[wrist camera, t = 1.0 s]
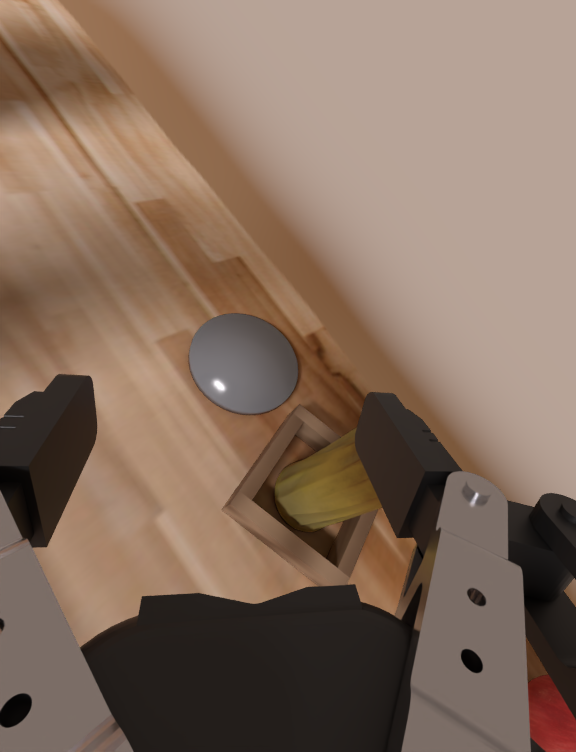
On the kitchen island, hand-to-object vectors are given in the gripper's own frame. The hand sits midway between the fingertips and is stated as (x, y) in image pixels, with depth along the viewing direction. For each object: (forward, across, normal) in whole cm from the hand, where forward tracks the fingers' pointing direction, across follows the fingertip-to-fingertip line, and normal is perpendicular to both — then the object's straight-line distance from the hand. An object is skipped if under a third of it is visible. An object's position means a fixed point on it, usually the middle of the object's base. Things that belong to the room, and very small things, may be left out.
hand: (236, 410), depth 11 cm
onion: (+2, -27, +31) cm, 41 cm away
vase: (+14, -8, +19) cm, 25 cm away
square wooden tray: (+14, -8, +18) cm, 25 cm away
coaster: (+24, -2, +11) cm, 26 cm away
